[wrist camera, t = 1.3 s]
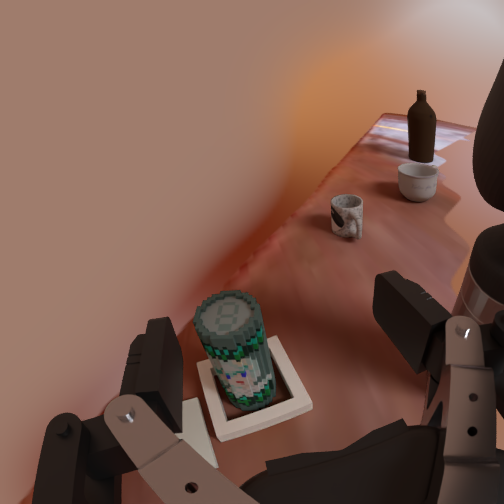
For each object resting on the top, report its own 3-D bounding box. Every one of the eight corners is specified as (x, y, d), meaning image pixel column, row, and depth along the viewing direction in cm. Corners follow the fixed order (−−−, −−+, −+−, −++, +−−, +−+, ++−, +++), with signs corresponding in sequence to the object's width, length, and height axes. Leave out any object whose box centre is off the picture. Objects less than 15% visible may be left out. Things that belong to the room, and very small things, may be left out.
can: (226, 410, 34) (188, 338, 26) (231, 371, 39) (201, 292, 31) (274, 410, 33) (256, 337, 25) (276, 370, 38) (260, 288, 30)
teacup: (411, 209, 65) (413, 178, 61) (389, 191, 74) (390, 163, 70) (450, 201, 66) (454, 172, 61) (427, 184, 75) (429, 158, 70)
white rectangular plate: (199, 400, 36) (197, 397, 35) (218, 467, 28) (216, 465, 27) (144, 414, 34) (141, 411, 34) (155, 480, 26) (152, 479, 26)
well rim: (277, 343, 42) (276, 335, 41) (312, 409, 32) (312, 402, 31) (200, 370, 40) (196, 362, 39) (221, 442, 30) (216, 436, 29)
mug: (327, 224, 65) (326, 197, 62) (354, 218, 66) (354, 192, 62) (344, 249, 57) (344, 219, 53) (374, 242, 57) (375, 213, 54)
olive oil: (438, 158, 90) (439, 92, 76) (429, 165, 85) (431, 93, 71) (413, 152, 98) (412, 87, 83) (402, 158, 93) (401, 89, 79)
